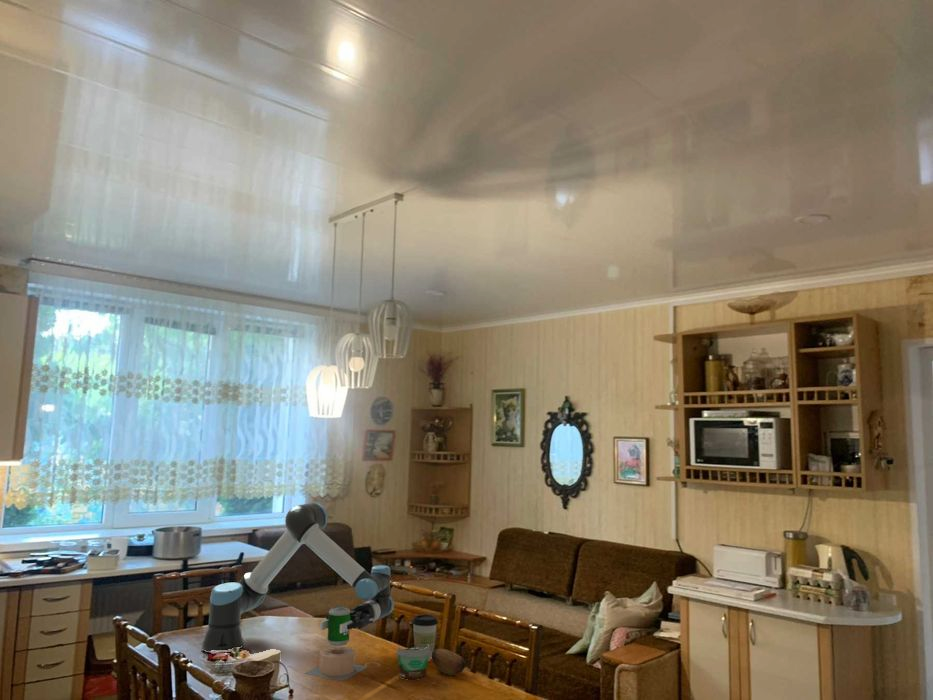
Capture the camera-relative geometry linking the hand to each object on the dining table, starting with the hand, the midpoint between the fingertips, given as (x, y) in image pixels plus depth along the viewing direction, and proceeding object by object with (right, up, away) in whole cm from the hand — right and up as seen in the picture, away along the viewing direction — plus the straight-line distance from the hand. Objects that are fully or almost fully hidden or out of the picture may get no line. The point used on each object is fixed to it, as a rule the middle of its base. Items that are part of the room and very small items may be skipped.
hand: (330, 627), depth 226 cm
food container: (+29, -17, -2) cm, 34 cm away
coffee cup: (+31, -20, +19) cm, 42 cm away
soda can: (+2, -7, +3) cm, 8 cm away
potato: (+41, -18, +4) cm, 45 cm away
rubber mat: (+2, -17, +2) cm, 17 cm away
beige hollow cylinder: (+2, -16, +2) cm, 16 cm away
